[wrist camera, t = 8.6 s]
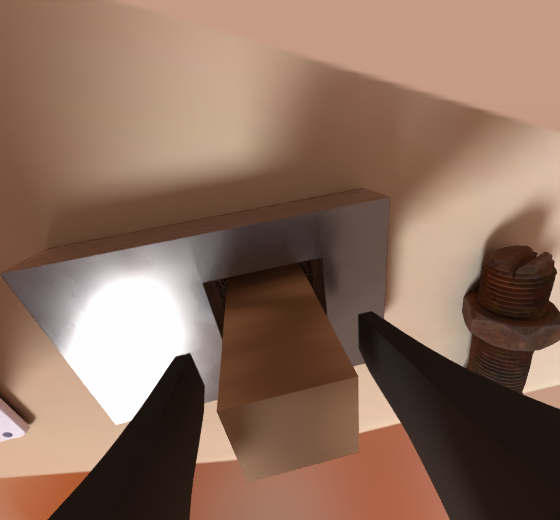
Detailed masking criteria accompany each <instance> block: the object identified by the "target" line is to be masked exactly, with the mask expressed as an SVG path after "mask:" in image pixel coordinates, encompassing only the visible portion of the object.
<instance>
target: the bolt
mask: <svg viewBox="0 0 560 520" xmlns="http://www.w3.org/2000/svg"><path fill="white" fill-rule="evenodd" d="M537 254H538V253H535V252H533V251H532V249H531V248H530V247H528V246H511V247H505V248H501V249H498V250H495V251H493V252H492V253H489V254H487V255H486V256H485V257H484V261H483V265H482V271H481V273H482V274H481V278H480V284H479V286H480V287H479V290H477V291H473V292H471V293H469V294H468V295H466V296H465V297H464V299H463V308H462V313H463V317H464V321H465V324H466V326H467V328H468V330H469V331H470V332H471V333H472V335H473V337H472V344H471V350H470V357H469V365H468V370H470V371H472V372H474V373H476V374H478V375H480V376H482V377H484V378H487V379H489V380H491V381H493V382H495V383H497V384H500V385H502V386H504V387H507V388H509V389H511V390H514V391H516V392H518V393H520V394H523V393H522V391H523V388H524V386H525V383H526V379H527V376H528V372H529V369H530V365H531V360H532V355H533V353H534V351H535V350H541V349H543V348H546V347H548V346H550V345H552V344H554V343H556V342H558V341H559V340H560V312H559V310H558V309H557V308H556V306H555V305H554V304H553V303H551V302H550V301H549V297H550V294H551V291H552V288H553V284H554V281H555V275H556V274H557V271H556V268H555V267H554V260H552V255H551V254H549V253H548V252H544V253H542V254H541V255H539V256H538V257H536V256H537Z"/></svg>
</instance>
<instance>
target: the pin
mask: <svg viewBox="0 0 560 520" xmlns="http://www.w3.org/2000/svg"><path fill="white" fill-rule="evenodd" d="M217 413H218V415H219V418H220V420H221V422H222V425H223V427H224V429H225V432H226V434H227V436H228V439H229V441H230V443H231V446H232V448H233V450H234V453H235V455H236V457H237V460H238V462H239V464H240V467H241V469H242V471H243V473H244V476H245V478H246V480H247V482H252V481H256V480H259V479H263V478H267V477H270V476H274V475H278V474H281V473H285V472H288V471H292V470H296V469H300V468H303V467H307V466H311V465H315V464H318V463H322V462H326V461H329V460H333V459H337V458H340V457H344V456H348V455H351V454H355V453H358V452H359V416H358V375H357V373H356V371H355V369H354V368H353V366H352V364H351V362H350V360H349V358H348V356H347V354H346V352H345V350H344V348H343V346H342V344H341V343H340V341H339V339H338V337H337V335H336V333H335V331H334V329H333V327H332V325H331V323H330V321H329V319H328V317H327V316H326V314H325V312H324V310H323V308H322V306H321V304H320V302H319V300H318V298H317V296H316V294H315V292H314V291H313V289H312V287H311V285H310V283H309V281H308V279H307V277H306V275H305V273H304V271H303V269H302V267H301V266H300V264H299V262H298V263H293V264H289V265H284V266H279V267H274V268H270V269H265V270H260V271H255V272H251V273H246V274H241V275H237V276H232V277H228V279H227V291H226V304H225V316H224V328H223V341H222V353H221V365H220V378H219V390H218V402H217Z"/></svg>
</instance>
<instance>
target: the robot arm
mask: <svg viewBox="0 0 560 520" xmlns="http://www.w3.org/2000/svg"><path fill="white" fill-rule="evenodd" d="M358 342H359V351H360V353H361V355H362V357H363V359H364V361H365V364H366V366H367V368H368V370H369V372H370V373H371V375H372V377H373V378H374V380H375V382H376V383H377V385H378V386H379V388H380V390H381V391H382V393H383V394H384V396H385V398H386V399H387V401H388V403H389V404H390V406H391V407H392V409H393V411H394V412H395V414H396V415H397V417H398V419H399V420H400V422H401V423H402V425H403V427H404V428H405V430H406V432H407V434H408V436H409V438H410V439H411V441H412V443H413V445H414V447H415V449H416V451H417V453H418V455H419V457H420V459H421V461H422V463H423V465H424V466H425V469H426V471H427V473H428V475H429V477H430V479H431V481H432V483H433V485H434V487H435V489H436V491H437V493H438V495H439V497H440V499H441V502H442V504H443V505H444V508H445V510H446V512H447V514H448V516H449V519H450V520H560V409H558V408H555V407H553V406H550V405H547V404H545V403H542V402H540V401H537V400H535V399H532V398H530V397H527V396H525V395H523V394H520V393H518V392H516V391H514V390H511V389H509V388H507V387H504V386H502V385H500V384H497V383H495V382H493V381H491V380H489V379H487V378H484V377H482V376H480V375H478V374H476V373H474V372H472V371H470V370H468V369H466V368H464V367H462V366H460V365H458V364H456V363H455V362H453V361H451V360H449V359H447V358H445V357H444V356H442V355H440V354H438V353H437V352H435V351H433V350H431V349H430V348H428V347H426V346H425V345H423V344H421V343H420V342H418V341H417V340H415V339H413V338H412V337H410V336H409V335H407V334H405V333H404V332H402V331H401V330H399V329H398V328H396V327H395V326H393V325H392V324H390V323H389V322H387V321H386V320H384V319H383V318H381V317H380V316H378V315H377V314H375V313H374V312H372V311H369V312H365V313H361V314H358ZM204 398H205V385H204V382H203V380H202V378H201V376H200V373H199V371H198V369H197V367H196V364H195V362H194V360H193V358H192V355H191V353H187V354H183V355H179V356H175V358H174V359H173V360H172V362H171V363H170V365H169V366H168V368H167V369H166V371H165V372H164V374H163V375H162V377H161V378H160V380H159V381H158V383H157V384H156V386H155V387H154V389H153V390H152V392H151V393H150V395H149V396H148V398H147V399H146V400H145V402H144V403H143V405H142V406H141V408H140V409H139V410H138V412H137V413H136V415H135V416H134V417H133V419H132V420H131V421H130V423H129V424H128V425H127V427H126V428H125V429H124V431H123V432H122V434H121V435H120V436H119V438H118V439H117V440H116V441H115V443H114V444H113V445H112V447H111V448H110V449H109V450H108V452H107V453H106V454H105V455H104V456H103V458H102V459H101V460H100V461H99V462H98V464H97V465H96V466H95V467H94V468H93V470H92V471H91V472H90V473H89V474H88V476H87V477H86V478H85V479H84V480H83V481H82V482H81V484H80V485H79V486H78V487H77V488H76V489H75V490H74V491H73V492H72V494H71V495H70V496H69V497H68V498H67V499H66V500H65V501H64V502H63V503H62V504H61V505H60V507H59V508H58V509H57V510H56V511H55V512H54V513H53V514H52V515H51V516H50V518H49V519H48V520H189V518H190V505H191V493H192V486H193V477H194V471H195V465H196V459H197V453H198V447H199V440H200V434H201V427H202V421H203V414H204ZM29 428H30V427H29V425H28V424H27V423H26V422H25V421H24V420H23V419H22V418H21V417H20V416H19V415H18V414H17V413H16V412H14V411H13V410H12V409H11V408H10V407H9V406H8V405H7V404H6V403H5V402H4V401H3V400H2V399H1V398H0V442H1V441H5V440H9V439H13V438H17V437H21V436H24V435H25V434H26V433H27V431H28V430H29Z"/></svg>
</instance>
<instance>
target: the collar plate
mask: <svg viewBox="0 0 560 520" xmlns="http://www.w3.org/2000/svg"><path fill="white" fill-rule="evenodd" d="M389 200H390V197H387V196H384V195H381V194H378V193H375V192H372V191H369V190H367V189H364V188H362V189H357V190H352V191H347V192H341V193H336V194H331V195H326V196H321V197H315V198H310V199H305V200H300V201H295V202H289V203H284V204H279V205H274V206H269V207H263V208H258V209H253V210H248V211H243V212H237V213H232V214H227V215H222V216H217V217H211V218H206V219H201V220H196V221H191V222H185V223H180V224H175V225H170V226H165V227H159V228H154V229H149V230H144V231H139V232H133V233H128V234H123V235H118V236H113V237H107V238H102V239H97V240H92V241H87V242H81V243H76V244H71V245H66V246H61V247H55V248H50V249H45V250H44V251H42V252H40V253H38V254H36V255H34V256H32V257H31V258H29V259H27V260H25V261H23V262H21V263H19V264H18V265H16V266H14V267H12V268H10V269H8V270H6V271H5V272H3V273H1V274H0V275H1V276H2V278H3V279H4V280H5V282H6V283H7V284H8V285H9V287H10V288H11V289H12V291H13V292H14V293H15V294H16V296H17V297H18V298H19V300H20V301H21V302H22V304H23V305H24V306H25V307H26V309H27V310H28V311H29V313H30V314H31V315H32V316H33V318H34V319H35V320H36V322H37V323H38V324H39V325H40V327H41V328H42V329H43V331H44V332H45V333H46V335H47V336H48V337H49V338H50V340H51V341H52V342H53V344H54V345H55V346H56V347H57V349H58V350H59V351H60V353H61V354H62V355H63V357H64V358H65V359H66V360H67V362H68V363H69V364H70V366H71V367H72V368H73V369H74V371H75V372H76V373H77V375H78V376H79V377H80V379H81V380H82V381H83V382H84V384H85V385H86V386H87V388H88V389H89V390H90V391H91V393H92V394H93V395H94V397H95V398H96V399H97V400H98V402H99V403H100V404H101V406H102V407H103V408H104V410H105V411H106V412H107V413H108V415H109V416H110V417H111V419H112V420H113V421H114V422H115V424H116V425H117V424H121V423H125V422H129V421H131V420H132V419H133V417H134V416H135V415H136V413H137V412H138V410H139V409H140V408H141V406H142V405H143V403H144V402H145V400H146V399H147V398H148V396H149V395H150V393H151V392H152V390H153V389H154V387H155V386H156V384H157V383H158V381H159V380H160V378H161V377H162V375H163V374H164V372H165V371H166V369H167V368H168V366H169V365H170V363H171V362H172V360H173V359H174V358H175V356H179V355H183V354H187V353H191V355H192V358H193V360H194V362H195V364H196V367H197V369H198V371H199V373H200V376H201V378H202V380H203V382H204V385H205V398H204V403H206V402H210V401H214V400H218V390H219V378H220V365H221V353H222V341H223V328H224V316H225V310H224V307H223V304H222V301H221V298H220V295H219V291H218V288H217V285H216V282H215V280H218V279H222V278H227V277H232V276H237V275H241V274H246V273H251V272H255V271H260V270H265V269H270V268H274V267H279V266H284V265H289V264H293V263H298V262H303V261H308V260H311V266H312V275H313V285H314V292H315V294H316V296H317V298H318V300H319V302H320V304H321V306H322V308H323V310H324V312H325V314H326V316H327V317H328V319H329V321H330V323H331V325H332V327H333V329H334V331H335V333H336V335H337V337H338V339H339V341H340V343H341V344H342V346H343V348H344V350H345V352H346V354H347V356H348V358H349V360H350V362H351V364H352V366H356V365H360V364H365V361H364V359H363V357H362V355H361V353H360V351H359V342H358V314H361V313H365V312H369V311H372V312H374V313H375V314H377V315H378V316H380V317H381V318H383V319H384V305H385V284H386V263H387V242H388V221H389Z"/></svg>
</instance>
